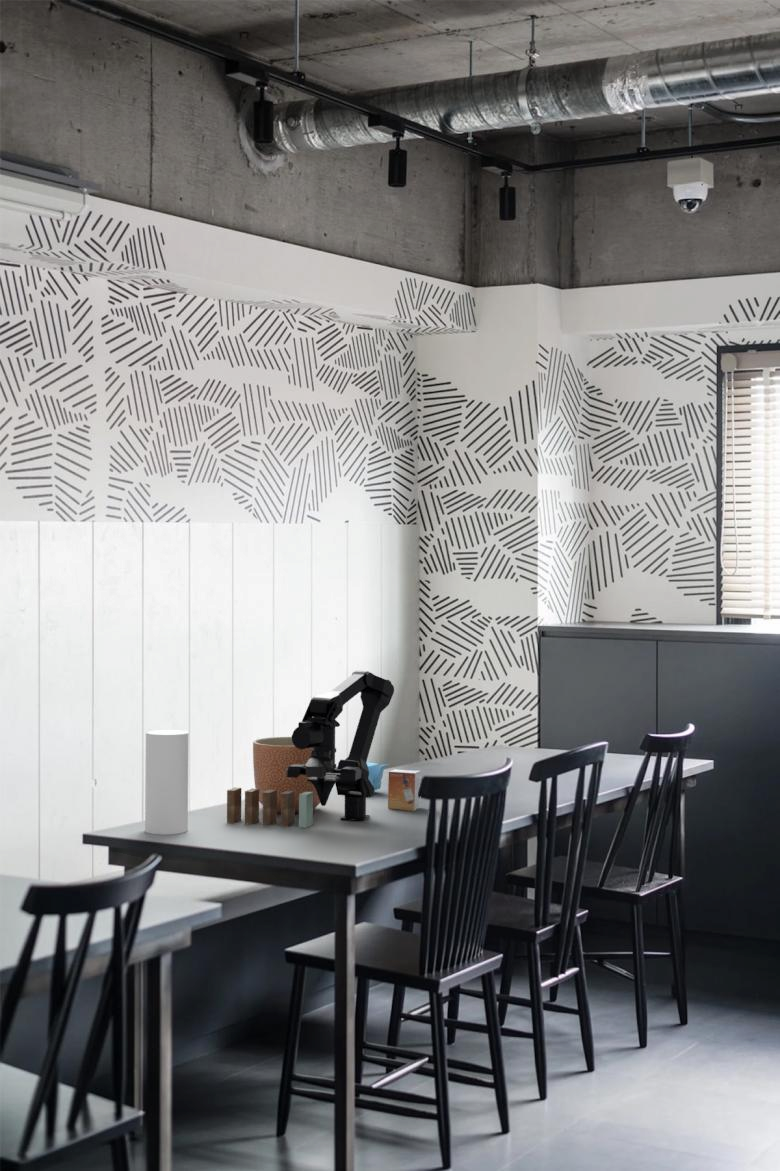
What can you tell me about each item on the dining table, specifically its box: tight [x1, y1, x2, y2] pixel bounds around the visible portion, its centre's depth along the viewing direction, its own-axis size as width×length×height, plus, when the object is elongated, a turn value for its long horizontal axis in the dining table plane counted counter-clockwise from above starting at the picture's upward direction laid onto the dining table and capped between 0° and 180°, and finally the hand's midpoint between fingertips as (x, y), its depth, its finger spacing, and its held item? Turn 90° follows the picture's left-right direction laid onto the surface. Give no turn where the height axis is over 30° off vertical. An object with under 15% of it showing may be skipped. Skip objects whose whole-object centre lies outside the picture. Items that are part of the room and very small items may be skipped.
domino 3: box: [262, 790, 278, 826], centre depth 374 cm, size 2×5×8 cm, turn 164°
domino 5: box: [298, 792, 314, 829], centre depth 371 cm, size 2×5×8 cm, turn 164°
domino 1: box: [226, 787, 242, 824], centre depth 377 cm, size 2×5×8 cm, turn 164°
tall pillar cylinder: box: [144, 729, 189, 836], centre depth 362 cm, size 11×11×25 cm
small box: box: [387, 768, 422, 811], centre depth 399 cm, size 8×6×10 cm
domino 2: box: [244, 788, 260, 825], centre depth 375 cm, size 2×5×8 cm, turn 164°
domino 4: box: [280, 791, 296, 827], centre depth 373 cm, size 2×5×8 cm, turn 164°
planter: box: [252, 736, 326, 814], centre depth 395 cm, size 21×21×19 cm
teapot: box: [335, 762, 388, 794], centre depth 426 cm, size 18×14×10 cm
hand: (323, 805), depth 370 cm, fingers closed
